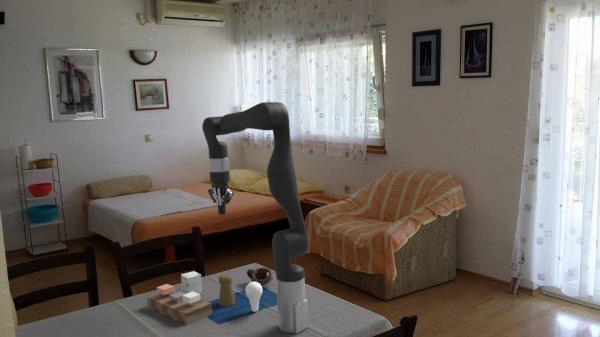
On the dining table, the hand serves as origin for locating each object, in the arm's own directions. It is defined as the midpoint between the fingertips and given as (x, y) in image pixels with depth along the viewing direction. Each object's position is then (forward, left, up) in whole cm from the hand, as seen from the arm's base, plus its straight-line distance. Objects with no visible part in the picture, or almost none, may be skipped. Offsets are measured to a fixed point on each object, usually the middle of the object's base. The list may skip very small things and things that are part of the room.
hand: (221, 214), depth 198 cm
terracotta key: (+10, +21, -27) cm, 35 cm away
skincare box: (+13, +7, -32) cm, 35 cm away
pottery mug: (-3, -15, -32) cm, 36 cm away
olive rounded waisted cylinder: (-7, +6, -32) cm, 33 cm away
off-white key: (-6, +21, -26) cm, 34 cm away
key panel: (+2, +21, -32) cm, 38 cm away
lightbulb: (-21, +5, -32) cm, 39 cm away
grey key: (+2, +21, -28) cm, 35 cm away
